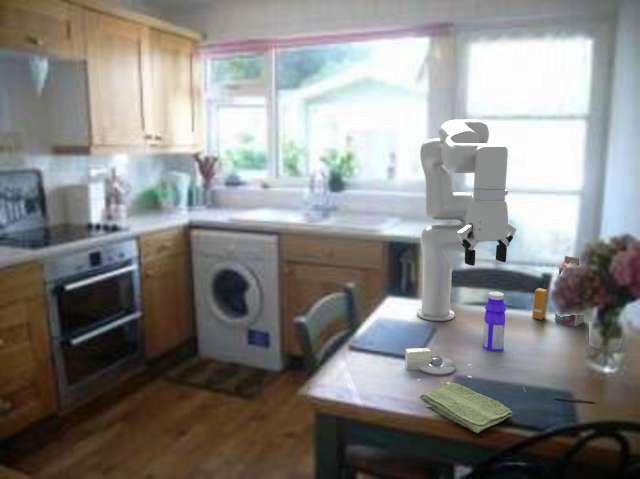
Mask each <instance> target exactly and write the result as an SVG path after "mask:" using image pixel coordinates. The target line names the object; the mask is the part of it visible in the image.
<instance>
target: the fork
mask: <svg viewBox="0 0 640 479" xmlns="http://www.w3.org/2000/svg"><path fill="white" fill-rule="evenodd" d="M523 392H524V393H526V392H527V391H526V387H525V386H523ZM557 399H561V400H560V401H563V400H567V401H566V402H569V401H572V402H571V403H583V404H596V402H595V401H591V400H585V399H579V398H571V397H557V398H556V397H555V399H554V400H557Z"/></svg>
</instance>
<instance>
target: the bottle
mask: <svg viewBox="0 0 640 479" xmlns="http://www.w3.org/2000/svg"><path fill="white" fill-rule="evenodd" d="M504 296H505V294H504V293H503V292H500V291H490V292H489V293H488V300H487V302H486V304H485V307H484V309H485V312H484V316H483V317H484V325H483V326H484V327H483V338H482V339H483V342H482V347H483V349H485V350H486V351H489V352H498V353H499V352H502V351H504V348H505V347H504V343H505V342H504V341H505V340H504V339H505V325H506V313H505V312H506V311H507V308H506V306H505V300H504V298H505V297H504Z"/></svg>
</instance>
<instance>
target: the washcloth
mask: <svg viewBox="0 0 640 479" xmlns="http://www.w3.org/2000/svg"><path fill="white" fill-rule="evenodd" d="M419 397H420V398H421V400H422V401H424V402H427V403H429V404H430V405H432V406H426V408H427V409H430V410H431V411H432V412H434V413H436V414H439V415H440V416H442V417H444V418H446V419H448V420H451V421H453V422H454V423H457V424H459V425H461V426H463V427H466V428H468V430H470V431H472V432H474V433H476V434H479V433H480V432H482V431H484V430H485V429H488V428H489V427H491V426H496V425H497V424H499V423H501V422H503V421H504V420H506V419H507V418H509V417H510V418H511V417H512V416H513V411H511V409H510V408H509V407H507V406H505V405H504V404H502V403H501V402H500V401H498V400H495V399H493V398H491V397H488V396H485V394H484V395H483V394H482V393H477V392H476V391H474V390H472V389H470V388H469V387H466V386H464V385H462V384H459V383H455V382H450V384H447V383H446V385H443V386H441V387H439V389H436V390H434V389H433V390H430V391H427V392H424V393H422V394H421V395H420V396H419Z"/></svg>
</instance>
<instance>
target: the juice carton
mask: <svg viewBox="0 0 640 479" xmlns="http://www.w3.org/2000/svg"><path fill="white" fill-rule="evenodd" d="M579 259H580V257H576V256H575V257H574V256H568V255H564V260H563V261H562V263H561V264H560V266H559V269H558V276H559V275H560V274H561V272H562V271H563V270H564V269H565V268H568V267H576V266H578V265H579ZM584 321H585V314H584V315H571V316H563V317H560V316H558V315H557V314H556V312H555V314H554V322H555V323H559V324H564V325H566V326H570V327H578V326H580V324H583V323H584Z"/></svg>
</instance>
